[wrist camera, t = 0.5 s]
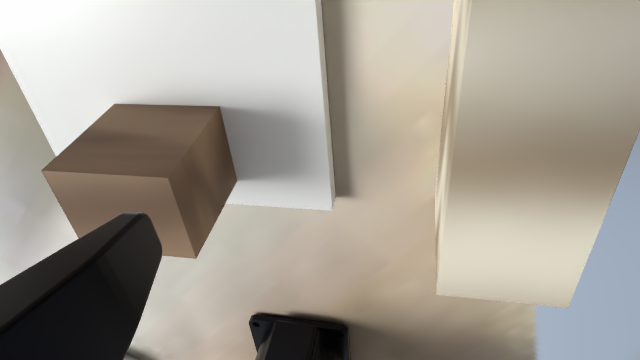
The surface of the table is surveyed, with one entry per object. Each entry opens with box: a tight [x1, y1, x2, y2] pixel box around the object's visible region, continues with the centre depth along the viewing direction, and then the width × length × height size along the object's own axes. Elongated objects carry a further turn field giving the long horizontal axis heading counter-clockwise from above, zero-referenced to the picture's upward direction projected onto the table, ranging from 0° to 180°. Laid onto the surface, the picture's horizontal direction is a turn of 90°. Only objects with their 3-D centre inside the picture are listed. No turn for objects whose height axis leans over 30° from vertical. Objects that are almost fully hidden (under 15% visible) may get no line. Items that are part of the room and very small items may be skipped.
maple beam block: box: [435, 0, 640, 308], centre depth 15 cm, size 12×4×6 cm, turn 5°
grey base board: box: [0, 0, 336, 211], centre depth 19 cm, size 17×14×1 cm
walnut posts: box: [41, 104, 237, 259], centre depth 16 cm, size 14×5×5 cm, turn 5°
